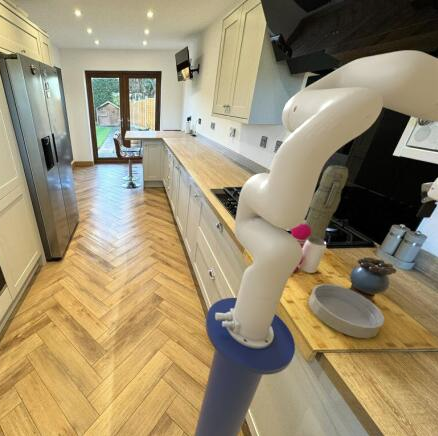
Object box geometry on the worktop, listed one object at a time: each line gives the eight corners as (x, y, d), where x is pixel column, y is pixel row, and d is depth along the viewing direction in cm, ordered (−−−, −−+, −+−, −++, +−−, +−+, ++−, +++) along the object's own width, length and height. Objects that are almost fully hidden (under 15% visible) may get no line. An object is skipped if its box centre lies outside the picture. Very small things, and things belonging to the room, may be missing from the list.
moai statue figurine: (300, 250, 100) (331, 168, 85) (293, 236, 110) (319, 162, 95) (324, 254, 98) (360, 171, 82) (314, 240, 108) (345, 164, 93)
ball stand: (356, 306, 72) (373, 277, 67) (335, 286, 80) (349, 258, 75) (385, 307, 72) (404, 278, 67) (361, 287, 80) (377, 259, 75)
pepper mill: (273, 261, 92) (288, 215, 83) (292, 262, 92) (309, 216, 83) (282, 273, 86) (299, 224, 77) (302, 274, 85) (322, 225, 77)
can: (294, 267, 89) (304, 240, 83) (298, 260, 93) (309, 234, 88) (313, 276, 85) (325, 248, 79) (317, 268, 89) (329, 241, 83)
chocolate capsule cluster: (369, 275, 68) (372, 270, 67) (350, 260, 74) (353, 255, 74) (401, 276, 68) (404, 271, 67) (379, 261, 74) (382, 257, 74)
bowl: (331, 338, 62) (338, 326, 60) (297, 293, 76) (301, 283, 74) (393, 340, 62) (401, 328, 60) (347, 295, 76) (352, 284, 74)
